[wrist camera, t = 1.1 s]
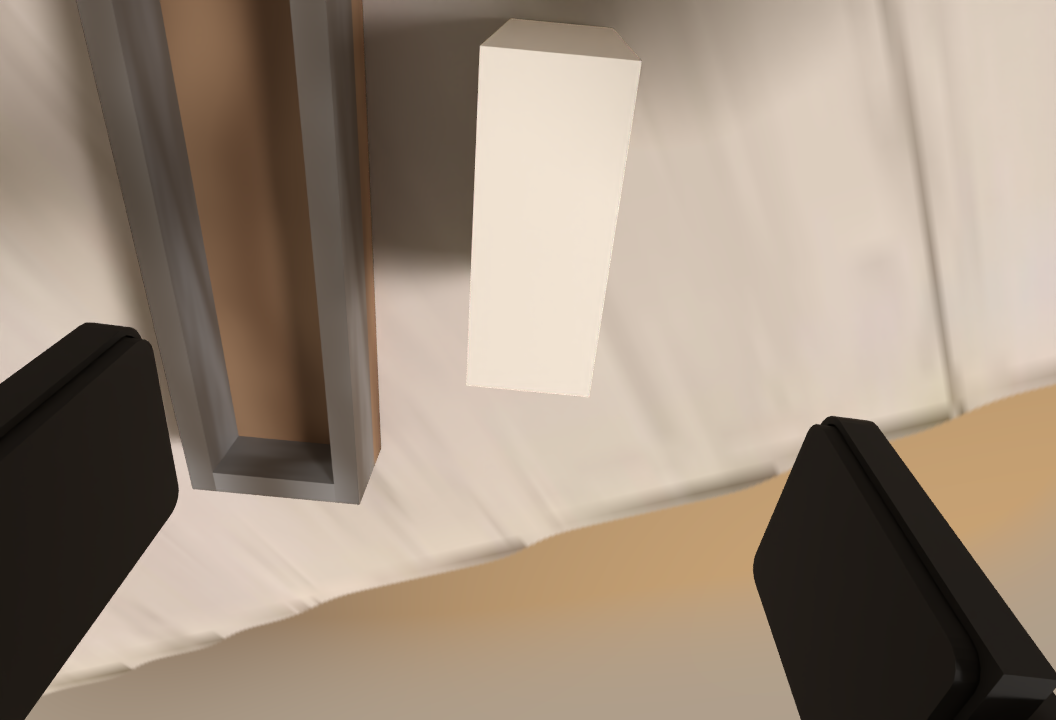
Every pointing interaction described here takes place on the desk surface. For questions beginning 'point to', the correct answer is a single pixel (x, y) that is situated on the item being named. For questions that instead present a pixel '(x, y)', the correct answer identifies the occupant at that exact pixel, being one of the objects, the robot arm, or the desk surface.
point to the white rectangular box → (546, 201)
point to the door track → (251, 230)
